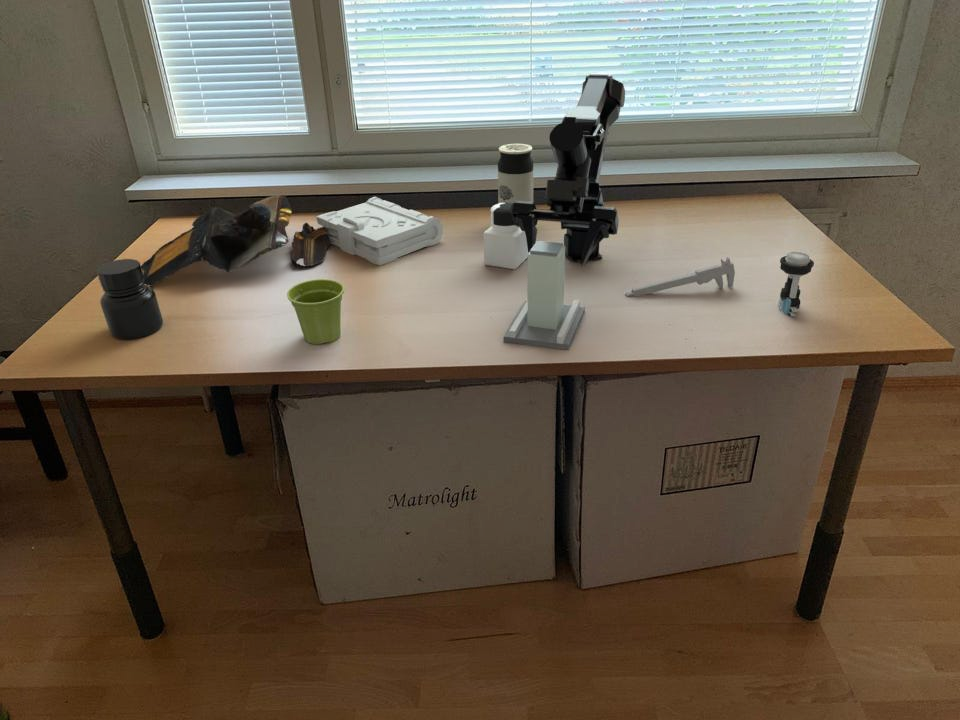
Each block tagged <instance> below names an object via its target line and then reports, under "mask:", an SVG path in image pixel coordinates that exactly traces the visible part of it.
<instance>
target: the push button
mask: <svg viewBox="0 0 960 720" xmlns="http://www.w3.org/2000/svg"><path fill="white" fill-rule="evenodd" d="M779 263H780V266H779V267H780V270H781V271H783V272H784V273H785V274H786V275H787V278H786V282H784V286H783V287H781V290H780V294H779V297H780V298H779V299H778V304H777V308H778V309H782V311H783V313H784V314H785V315H790V316H791V317H797V312H798V310H799V309H800V306H801V300H800V296H801V289H800V285H799V283H800V279H801V277H802V276H806V275H808V274H809V273H811V271H812V268H813V267H814V264H815V262H814V260H812V259H811V258H810V256H809V255H808V254H807V253H804V252H801V251H800V252H799V251H791V252H788V253H786V255H785V256H782V257H780V259H779Z"/></svg>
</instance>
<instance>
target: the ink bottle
mask: <svg viewBox="0 0 960 720" xmlns="http://www.w3.org/2000/svg"><path fill="white" fill-rule="evenodd" d="M96 274H97V278H98V280H99V283H100V286H101V288H102V291H103V295H102V296H101V298H100V301H99V302H100V303H99V305H100V306H101V310H102V312H103V316H104V318H105V322H106V324H107V327H108V331H109V334H111V336H112V337H114V338H116V339H118V340H119V339H120V340H132V339H138V338H142V337H146V336H148V335H151V334H154V333H156V332H157V331H159V330H160V329H161V328H162V326H163V324H164V319H163V316H162V312H161V309H160V306H159V302H158V299H157V295H156V292H155V291H154V289H153V288H152V286H151V287H149V285H145V284H144V283H145V280H144V276H143V274H144V272H143V269H141V262H139V261H138V259H133V258H124V259H122V258H121V259H116V260H112V261H107V262H106V263H104V264H101V265H100V266H98V267H97V268H96Z"/></svg>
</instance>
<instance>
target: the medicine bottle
mask: <svg viewBox="0 0 960 720" xmlns="http://www.w3.org/2000/svg"><path fill="white" fill-rule="evenodd" d="M512 204H513V203H499V202H498V203H496V204H494V205H492V206H491V208H490V227H489V228H488V229H486V230H485V231H484V232H483V234H482V235H483V261H484V262H483V263H484V266H489V267H490V266H491V267H497V268H504V269H510V270H516V269H517V268H519V267H520V265H522V264H523V263H524V261H526V260H528V247H527V239H526V234H525V231H522V230H521V229H520V227H518V226H515V224H514V222H513V220H512V217H511V215H510V209H511V205H512Z"/></svg>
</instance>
